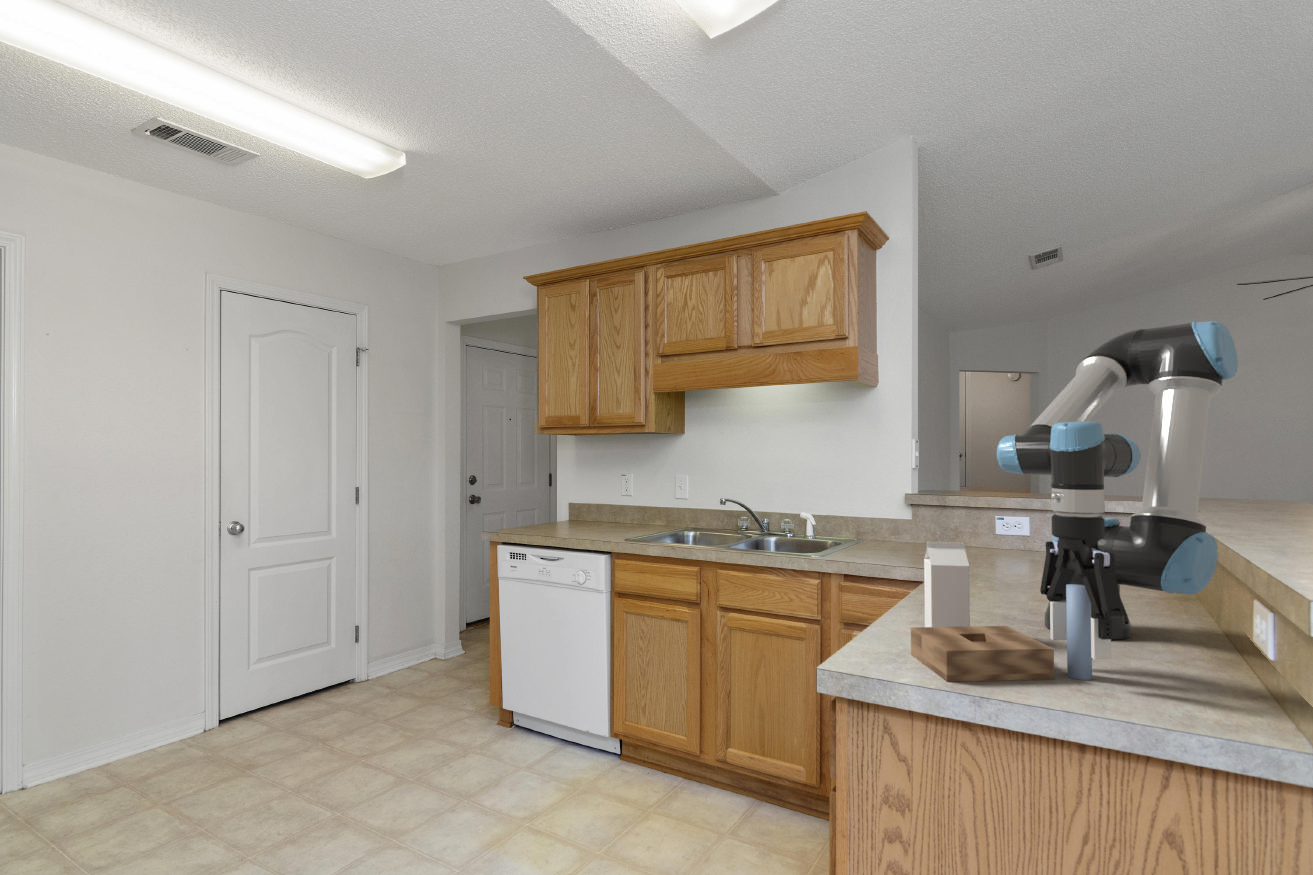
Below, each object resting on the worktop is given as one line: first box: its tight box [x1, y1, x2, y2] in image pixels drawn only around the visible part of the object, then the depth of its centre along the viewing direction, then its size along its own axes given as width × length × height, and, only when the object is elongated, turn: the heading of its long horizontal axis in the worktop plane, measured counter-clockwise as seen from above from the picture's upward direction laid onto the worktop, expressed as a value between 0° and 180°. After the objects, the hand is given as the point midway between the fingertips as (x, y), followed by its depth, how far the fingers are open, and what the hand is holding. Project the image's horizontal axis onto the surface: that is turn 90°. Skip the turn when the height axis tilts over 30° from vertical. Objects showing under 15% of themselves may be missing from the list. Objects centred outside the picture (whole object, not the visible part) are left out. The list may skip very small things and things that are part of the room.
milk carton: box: [923, 541, 971, 627], centre depth 135 cm, size 7×7×19 cm
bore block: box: [910, 625, 1055, 682], centre depth 117 cm, size 18×14×5 cm
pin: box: [1066, 584, 1093, 681], centre depth 112 cm, size 4×4×15 cm
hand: (1079, 648), depth 112 cm, fingers open, 10 cm apart
